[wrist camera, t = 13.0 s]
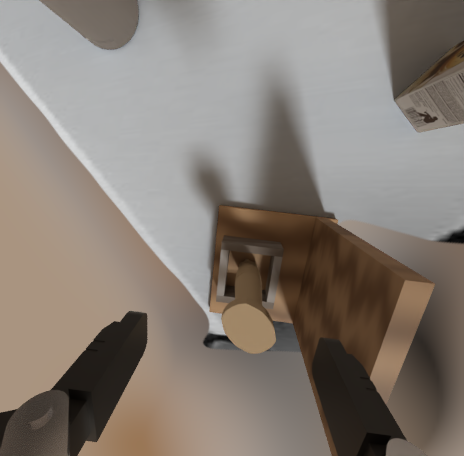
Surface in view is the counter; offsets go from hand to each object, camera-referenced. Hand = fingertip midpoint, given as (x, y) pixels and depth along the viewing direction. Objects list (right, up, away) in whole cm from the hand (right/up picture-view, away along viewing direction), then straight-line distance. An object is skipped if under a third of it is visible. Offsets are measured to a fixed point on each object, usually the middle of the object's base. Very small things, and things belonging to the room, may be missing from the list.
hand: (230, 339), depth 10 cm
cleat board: (+6, -2, +28) cm, 29 cm away
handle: (+3, -2, +27) cm, 27 cm away
